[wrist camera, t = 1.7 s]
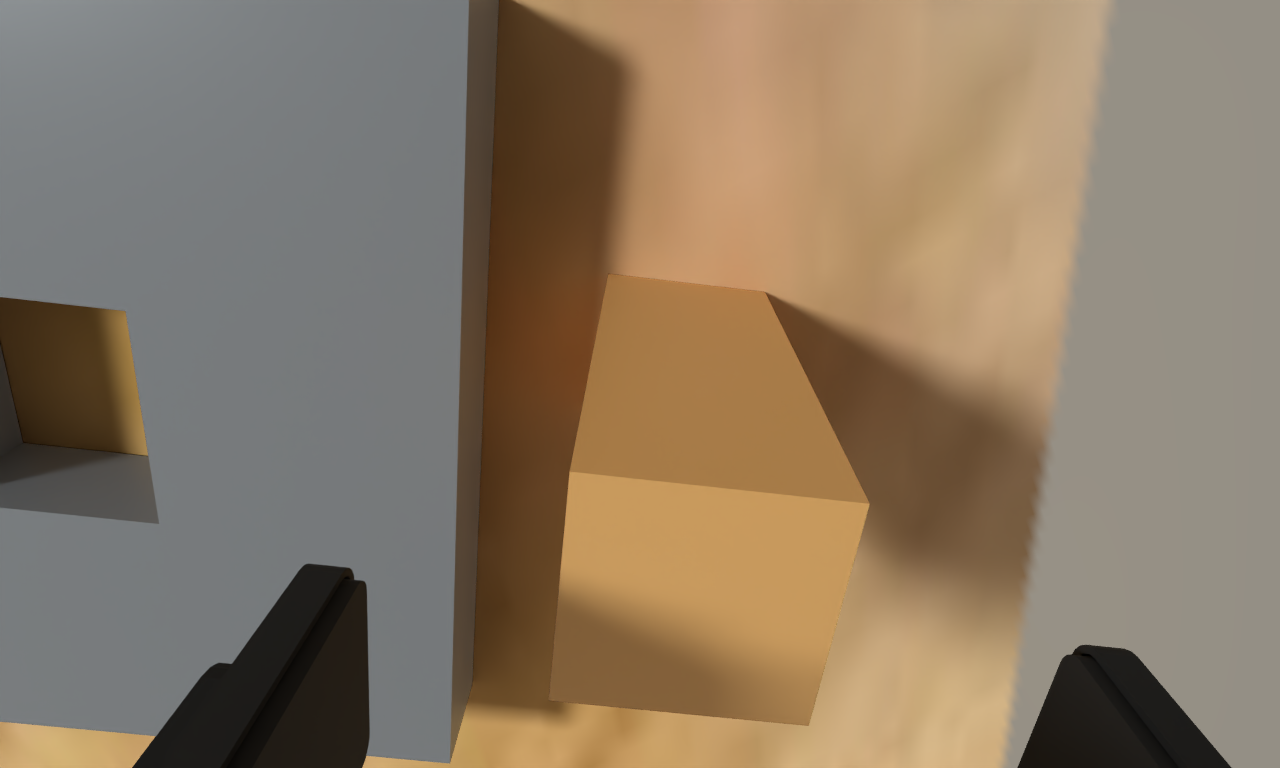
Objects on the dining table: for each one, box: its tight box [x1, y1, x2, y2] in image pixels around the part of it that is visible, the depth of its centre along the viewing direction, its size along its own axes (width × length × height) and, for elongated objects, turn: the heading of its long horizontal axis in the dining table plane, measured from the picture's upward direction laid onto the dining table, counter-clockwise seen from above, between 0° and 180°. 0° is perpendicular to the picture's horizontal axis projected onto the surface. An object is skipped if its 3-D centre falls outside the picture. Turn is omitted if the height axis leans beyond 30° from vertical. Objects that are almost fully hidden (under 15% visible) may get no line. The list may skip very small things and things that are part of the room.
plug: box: [549, 274, 870, 726], centre depth 15 cm, size 4×4×10 cm
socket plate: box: [0, 0, 499, 763], centre depth 19 cm, size 20×20×3 cm
